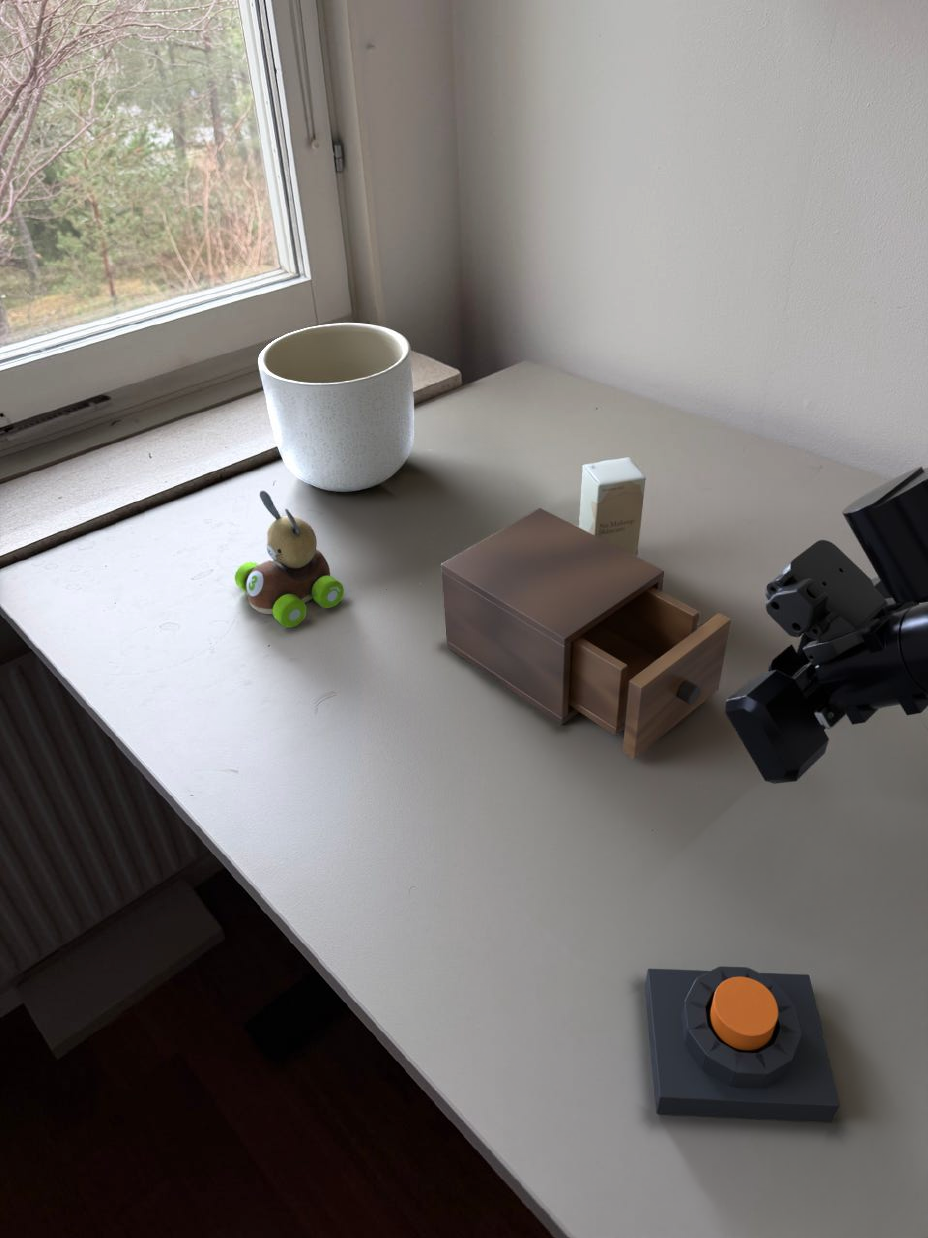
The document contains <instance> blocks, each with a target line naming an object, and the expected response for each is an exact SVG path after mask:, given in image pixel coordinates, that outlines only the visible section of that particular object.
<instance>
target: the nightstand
mask: <svg viewBox="0 0 928 1238" xmlns="http://www.w3.org/2000/svg"><path fill="white" fill-rule="evenodd" d="M440 569H441V570H440V571H441V584H442V587H441V588H442V598H443V600H442V601H443V613H444V614H443V615H444V628H445V640H446V642H445V643H446V647H447V648H448V649H449V650H451V651H452V652H453V653H455V654H457V655H458V656H459V657H461V658H462V659H463V660H465V661H467V662H468V663H470V664H471V665H472V666H474V667H476V668H477V669H479V670H480V671H482V672H483V673H484V674H486V675H487V676H489V677H490V678H492V679H493V680H494V681H496V682H497V683H499V684H501V686H504V687H505V688H506V689H508V690H509V691H511V692H512V693H514V694H515V695H517V696H518V697H520V698H521V699H522V700H524V701H526V702H527V704H530V705H531V706H533V707H534V708H535V709H537V710H539V711H540V712H542V713H543V714H545V715H546V716H548V717H549V718H550V719H552V720H553V721H555V722H556V723H558V724H559V725H561V726H563V725H565V724H566V723H567V722H568V721H569V720H571V719H573V717H575V716H576V715H578V714H579V713H580V712H579V711H577V710H576V709H574V708H573V707H571V706H570V705H568V703H569V678H570V653H571V642H572V641H573V640H575V639H576V638H578V637H579V636H580V635H582V634H583V633H585V632H586V631H588V630H589V629H591V628H592V627H594V626H595V625H596V624H598V623H599V622H601V621H602V620H604V619H605V618H607V617H608V616H609V615H611V614H612V613H614V612H615V611H617V610H618V609H620V608H621V607H623V606H624V605H625V604H627V603H628V602H630V601H631V600H633V599H634V598H636V597H637V596H638V595H640V594H641V593H643V592H644V591H646V590H647V589H649V588H650V587H653V588H655V589H657V590H659V591H661V592H663V588H664V582H665V581H664V579H665V569H663V568H660V567H658V566H656V565H654V564H652V563H650V562H648V561H646V560H644V559H642V558H641V557H638V556H637V557H636V556H634V555H632V554H630V553H628V552H626V551H624V550H622V549H620V548H618V547H616V546H615V545H613V544H611V543H609V542H607V541H605V540H603V539H601V538H599V537H597V536H595V535H593V534H591V533H589V532H587V531H585V530H583V529H581V528H579V526H577V525H575V524H573V523H571V522H569V521H567V520H565V519H563V518H561V517H559V516H557V515H555V514H553V513H552V512H550V511H547V510H545V509H543V508H542V507H539V508H536V509H535V510H533V511H532V512H529V514H527V515H524V516H523V517H521V518H519V519H517V520H516V521H514V522H512V523H511V524H509V525H507V526H505V527H503V528H501V529H500V530H498V531H497V532H495V533H493V534H491V535H489V536H488V537H486V538H484V539H483V540H481V541H479V542H477V543H475V544H474V545H472V546H470V547H468V548H466V549H465V550H463V551H461V552H459V553H458V554H456V555H455V556H452V557H450V558H449V559H447V560H446V561H444V562H442V563H441V564H440Z"/></svg>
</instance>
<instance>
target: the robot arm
mask: <svg viewBox="0 0 928 1238" xmlns="http://www.w3.org/2000/svg"><path fill="white" fill-rule="evenodd" d="M841 511H842V512H841V514H842V516H843V517H844V519H845V521H846V523H847V524H848V526H849V528H850V530H851V531H852V534H853V535H854V537H855V538H856V540H857V542H858V544H859V545H860V547H861V550H862V551H863V553H864V554H865V556H866V558H867V560H868V562H869V563H870V564H871V567H872V568H873V570H874V572H875V574H876V575H877V577H874V578H870V577H869V576H868V575H867V574H866V573H865V572H864V571H863V570H862V569H861V568H860V567H859V566H858V565H857V564H856V563H855V562H853V561H852V559H851V558H850V557H848V556H847V555H846V554H845V553H844V552H843V551H842V550H841V549H840V548H839V547H838V546H837V545H836V544H834V542H831V541H829V540H827V539H819V540H817V541H816V542H814V543H813V544H812V545H810V546H809V547H808V548H807V549H805V550H804V551H802V552H801V553H800V554H798V555H797V556H796V557H795V558H793V559H792V560H791V561H790V562H789V563H788V564H787V565H786V566H785V567H784V568H783V570H782V571H781V572H780V573H779V574H777V576H776V577H775V578H774V579H773V580H771V581H770V582H768V583H767V584H766V587H765V592H764V593H765V597H766V599H767V601H766V603H765V611H766V613H767V614H768V615H769V617H771V619H772V620H773V621H774V622H775V623H776V624H777V625H779V627H780V628H781V629H782V630H783V631H784V632H785V633H786V634H787V635H788V636H790V637H793V638H800V637H801V638H800V640H799V644H798V648H797V650H796V648H795V646H794V645H793V644H792V643H790V645H788V646H787V647H786V648H784V649H783V650H782V651H781V652H780V653H779V654H778V655H776V656H775V657H774V658H772V660H771V661H770V663H769V665H768V669H767V670H768V671H767V672H763V673H761V674H760V675H758V676H756V677H754V678H752V679H749V680H748V681H747V682H746V683H745V684H743V685H742V686H741V687H740V688H739V689H738V690H736V691H735V692H734V693H732V695H730V696H729V697H728V698H727V699H726V700H725V707H724V713H725V715H726V717H727V718H728V719H729V722H730V723H731V725H732V727H733V728H734V731H735V732H736V734H737V736H738V737H739V739H740V740H741V742H742V744H743V746H744V748H745V749H746V751H747V753H748V754H749V757H750V758H751V759H752V761H753V763H754V765H755V767H756V769H757V770H758V772H759V773H760V775H761V777H762V779H763V780H764V782H767V783H770V784H773V785H775V784H784V783H793V782H797V781H799V780H800V778H801V777H803V775H804V774H805V773H807V771H808V770H810V768H812V766H813V765H815V764H816V763H817V762H818V761H819V760H820V759H821V758H822V757H823V756H824V755H825V754H826V751H827V747H828V746H829V745H828V744H829V742H830V737H829V736H828V735H827V732H826V731H825V730H830V729H834V728H835V727H836V726H837V725H838V724H839V723H840V722H841V721H842V720H843V719H844V718H845V717H846V716H847V718H848V720H849V722H850V723H851V725H858V724H865V723H866V722H867V721H868V720H869V719H870V718H871V717H872V716H873V715H874V714H875V713H876V712H877V711H879V709H883V708H889V707H895V706H900V707H901V708H902V711H904V713H905V716H913V715H919V714H922V713H923V712H924V711H925V710H926V709H927V707H928V467H926V468H924V467H923V466H919V467H916V468H914V469H912V470H909V471H907V472H905V473H903V474H901V475H899V476H896V477H894V478H893V479H890V480H888V481H887V482H884V483H883V484H881V485H879V486H877V487H875V488H873V489H872V490H870V491H868V492H867V493H865V494H864V495H862V496H860V497H858V498H857V499H855V500H854V501H852V502H851V503H849V504H848V505H847V506H846V507H845V508H844V509H842V510H841Z"/></svg>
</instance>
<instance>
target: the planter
mask: <svg viewBox="0 0 928 1238" xmlns="http://www.w3.org/2000/svg"><path fill="white" fill-rule="evenodd" d="M257 364H258V370H259V374H260V375H259V376H260V380H261V384H262V389H263V394H264V398H265V403H266V406H267V412H268V416H269V420H270V424H271V428H272V433H273V436H274V437H273V438H274V440H275V443H276V446H277V448H278V452H279V455H280V457H281V459H282V460H283V463H284V465H285V466H286V468H288V470H289V471H290V472H291V473H292V474H293V475H294V476H295V477H297V478H298V479H300V480H301V481H303V482H304V483H306V484H309V485H310V486H311V487H312V486H313V487H314V488H318V489H321V490H325V491H330V492H338V493H339V492H340V493H347V492H349V493H350V492H356V491H357V492H358V491H362V490H366V489H369V488H373V487H375V486H377V485H379V484H381V483H383V482H385V481H387V480H388V479H390V478H391V477H392V476H393V475H394V474H396V473H398V471H399V470H400V469H401V468H402V467H403V466H404V464H405V463H406V462H407V459H408V458H409V456H410V454H411V452H412V449H413V443H414V436H415V435H414V434H415V402H414V401H415V397H414V378H413V360H412V348H411V344H410V342H409V341H408V339H407V338H406V337H405V336H404V335H403V334H402V333H400V332H398V331H396V330H394V329H391V328H388V327H385V326H381V325H376V324H368V323H359V322H357V323H356V322H343V323H341V322H340V323H328V324H321V325H316V326H310V327H306V328H302V329H299V330H295V331H292V332H290V333H287V334H284V335H283V336H281V337H279V338H276V339H274V340H273V341H272V342H271V343H270V342H269V344H268V345H266V347H264V349H263V350H262V351H261V352H260V354H259V356H258V360H257Z"/></svg>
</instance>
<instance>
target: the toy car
mask: <svg viewBox="0 0 928 1238" xmlns="http://www.w3.org/2000/svg"><path fill="white" fill-rule="evenodd" d="M259 498H260V500H261V503H262V504H263V506H264V507H265V508H266V510H267V512H269V513H270V515H271V516H272V517H273V518H274V519H275V520H274V521H273V522H272V523H271V524H269V527H268V529H267V532H266V551H267V554H268V556H269V557H270V558H271V559H272V560H266V561H264V562H262V563H260V564H258V563H257V562H255V561H247V562H244V563H242V564H241V565H240V566H239V567H238V568H237V569H236V571H235V573H234V581H235V582H234V583H235V584H236V586H237V587H238V588H240V589H241V590H242V591H243V592H244V593H246V595H247V598H248V602H249V604H250V606H251V607H252V608H253V609H254V610H256V611H257V612H259V613H261V614H266V615H272V616H273V617H274V619H275V620H276V621H277V622H278V623H279V624H280V625H281V626H283V627H285V628H295V627H296V626H298V625H299V624H301V623H302V621H303V620H304V619H305V617H306V614H307V606H306V603H307V602H309V601H311V600H312V599H313V601H314V602H315V603H317V604H318V605H319V606H321V607H322V608H324V609H331V608H334V607H336V606H337V605H338V604H339V603H340V602H341V601H342V600H343V597H344V595H345V587H344V585H343V583H341V582H340V581H339V579H337V578H335V577H334V576H333V575H331V569H330V566H329V563H328V561H327V559H326V557H325V556H324V554H323V553H322V552H321V551H320V550H319V549H317V548H318V547H317V546H318V540H317V535H316V532H315V530H314V529H313V527H312V526H311V524H309V523H308V522H307V521H305V520H304V519H302V518H300V517H297V516H293V515H292V514H291V512H290V511H289V509H288V508H285V509H284V511H285V513H286V515H287V516H281V515H280V513H279V511H278V509H277V508H276V506H275V504H274V501H273V500H272V496H270V494H269V493H268V492H267V491H265V490H261V491H259Z"/></svg>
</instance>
